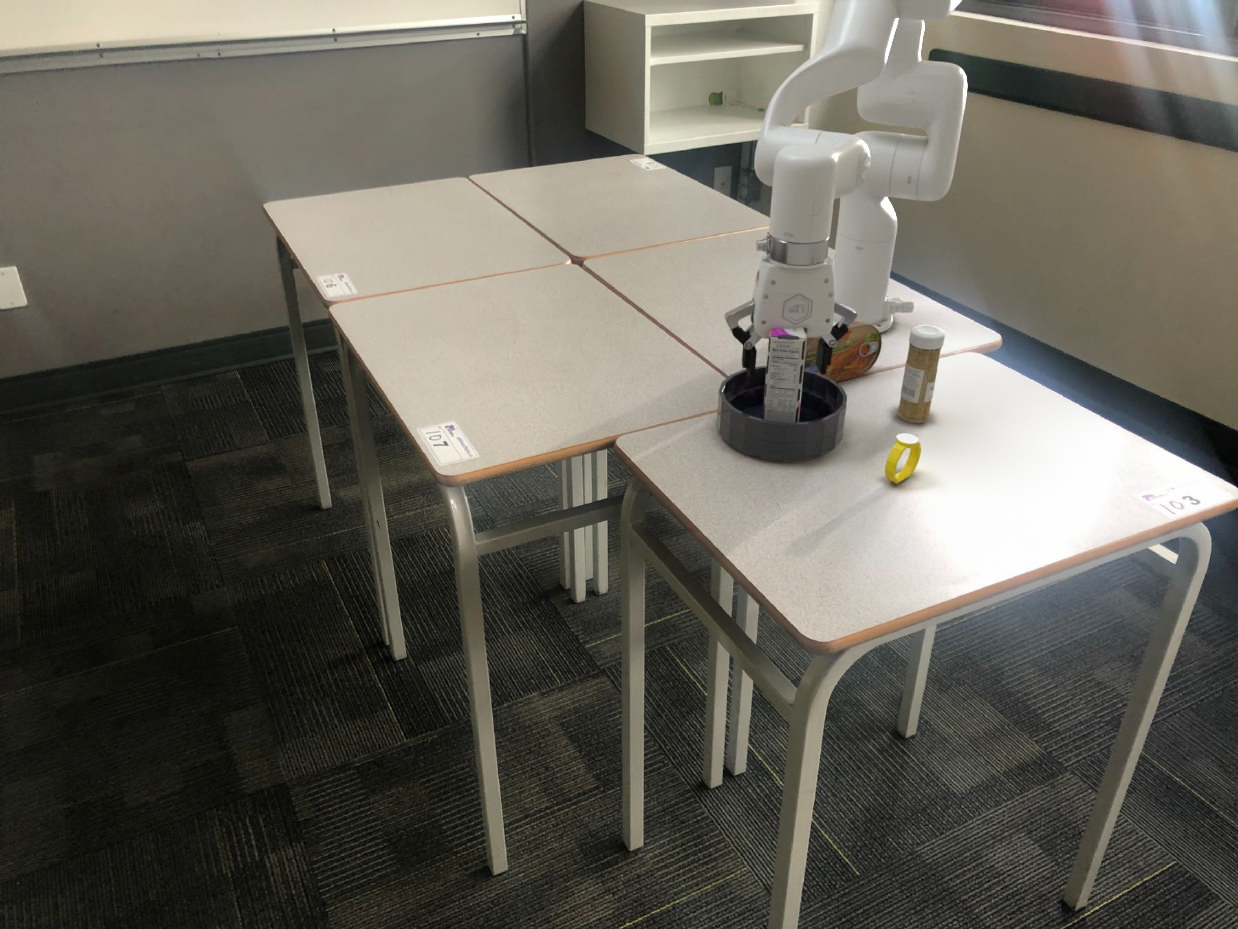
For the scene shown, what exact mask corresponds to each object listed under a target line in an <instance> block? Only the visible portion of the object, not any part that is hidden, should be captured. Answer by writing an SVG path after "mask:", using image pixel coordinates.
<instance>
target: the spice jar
mask: <svg viewBox="0 0 1238 929" xmlns="http://www.w3.org/2000/svg"><path fill="white" fill-rule="evenodd" d="M945 337H946V332H945V330H944V329H942V328H941V327H938V326H935V325H931V324H918V325H915V326H913V327H912V328H911V329H910V332H909V336H908V345H909V347H908V351H907V357H906V361H905V365H904V372H903V378H902V383H901V389H900V400H899V404H898V405H899V406H898V409H897V412H896V415H897V416H898V418H899V419H900V420H902V421H905V422H906V423H910V424H922V423H926V422H928V421H929V419H930V416H931V414H930V411H931V404H932V400H933V397H934V392H935V384H936V379H937V376H938V366H939V362H940V355H941V351H942V348H943V347H944V343H945V339H946V338H945Z"/></svg>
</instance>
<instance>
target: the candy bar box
mask: <svg viewBox="0 0 1238 929" xmlns="http://www.w3.org/2000/svg"><path fill="white" fill-rule="evenodd" d="M806 343H807V328H777V329H770V333H769V339H768V346H767V357H766V366H767V368H766V381H765V393H764V407H763V419H764V420H767V421H776V422H784V423H794V422H799V412H800V403H801V393H802V383H803V374H804V363H805V353H806Z"/></svg>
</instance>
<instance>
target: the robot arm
mask: <svg viewBox="0 0 1238 929" xmlns="http://www.w3.org/2000/svg"><path fill="white" fill-rule="evenodd" d="M962 1H963V0H834V4H833V7H832V11H831V14H830V18H829V21H828V24H827V28H826V31H825V34H824V38H823V41H822V45H821V48H820V50H819V51H818V52H817V53H816V54H814V55H813V56H812V57H810V58H809V59H807V60H806V61H805V62H803V63H802V64H800V65H799V66H798V67H797V68H796V69H795V70H794V71H792V72H791V74H790V75H789V76H788V77H787V78H786V79H785V80H784V81H783V82H782V83H781V84H780V86H779V87H778V88H777V89H776V91H775V92H774V94H773V95H772V97H771V99H770V102H769V103H768V106H767V109H766V111H765V114H764V118H763V121H762V125H761V128H760V132H759V135H758V138H757V141H756V147H755V151H754V159H753V160H754V161H753V164H754V172H755V175H756V177H757V178H758V180H759V181H760V182H762V183H763V184H764V185H766V186H768V187H772V188H771V202H770V212H769V222H768V224H769V225H768V231H767V232H766V236H765V238H762V239H757V240H756V242H755V249H756V251H757V252H759V251H761V252H763V253H764V254H762V256H761V259H760V261H759V265H758V268H757V271H756V277H755V282H754V287H753V291H752V298H751V299H750V300H749V301H746V302H745V303H742V304H741V305H738V306H737V307H734V308H732V309H731V310H728V311H726V312H725V313H724V316H723V317H724V320H725V322H726V324H727V326H728V328H729V330H730V332H731V334H732V336H733V337H734V338H735V339H736V340H737V341H738V342H739V343H740V344H741V345H742V351H741V352H742V353H741V367H742V369H746V370H747V373H748V375H749V377H753V376H754V375H755V367H757V366H756V364H757V354H758V353H757V348H756V346H755V345H757V343H759V341H761V339H766V340H769V333H770V329H777V328H807V338H817V337H821V338H820V339H819V340H818V346H817V355H816V367H817V368H818V370H819V372H820V373H821V374H826V371H827V366H829V365H830V364H831V358H832V350H833V347H834V346H835V345H836V344H837V341H838V340H839V339H841V338H842V337H843V336H844V335H845V334H846V333H847V332H848V330H849V327H851V325H852V324H853V322H854V321H860V322H864V323H866V324H869V325H872V326H874V327H875V328H877V329H878V331H879V333H880V334H881V333H884V332H886V331H888V330H889V329H890V328H891V327H892V325H893V320H894V319H893V315H895V314H896V313H900V314H911V313H913V312H914V309H915V306H914V301H912V300H911V301H910V300H909V301H908V300H907V301H903V300H902V297H889V296H888V292H889V291H888V289H889V285H890V284H889V283H890V278H891V270H892V265H893V259H894V252H895V246H896V239H897V233H898V217H897V215H896V212H895V209H894V207H893V205H892V203H891V201H890V200H889V198H896V199H903V200H910V201H918V202H919V201H920V202H937V201H939V200H941V199H943V198H945V196H946V195H947V194H948V192H949V190H950V188H951V184H952V181H953V178H954V173H955V168H956V162H957V157H958V150H959V146H960V137H961V134H962V133H961V132H962V126H963V120H964V114H965V109H966V102H967V94H968V92H967V91H968V81H967V75H966V73H965V71H964V69H963V68H962V67H961V66H959V65H958V64H955V63H953V62H947V61H937V60H936V61H935V60H925V59H922V56H921V51H922V45H923V37H924V32H925V21H929V22H931V21H932V22H937V21H941V20H945V19H946V18H947V17H949V16H950V15H951V14H952V12H953V11H955V9H956V8H957V7H958V6H959V5H960V3H961V2H962ZM856 88H857V92H856V109H857V113H858V115H859V116H860V118H861V119H862V120H864V121H867V122H869V123H873V124H878V125H885V126H893V127H903V128H911V129H912V128H913V129H922V130H923V131H924V132H926V135H927V136H924V135H915V134H905V133H901V132H891V131H880V130H866V131H865V130H864V131H859V132H856V133H854V134H851V133H846V132H845V133H844V132H837V131H826V130H822V129H812V128H804V127H792V124H793V123H794V121H795V119H796V118H797V117H798V116H799V115H800V114H801V113H802V112H803V111H804V110H805V109H807V108H809V107H810V106H811V105H814V104H815V103H817V102H819V101H822V100H824V99H827V98H829V97H833V96H836V95H839V94H841V93H845V92H847V91H850V90H853V89H856ZM837 199H839V209H838V210H839V211H838V220H837V228H836V237H835V244H834V252H833V258H831V257H830V256H829V255H828V253H829V246H830V236H831V230H832V222H833V221H832V219H833V212H834V203H835V202H834V201H835V200H837ZM749 316H750V322H751V324H750V325H749V326H748V327H747V328H746V329H745V330H744V329H743V328H742V327H741V326H740V325H739V321H740V320H742V319H745V318H747V317H749Z"/></svg>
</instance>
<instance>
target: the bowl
mask: <svg viewBox="0 0 1238 929" xmlns="http://www.w3.org/2000/svg"><path fill="white" fill-rule="evenodd" d="M766 368H767V365H760V366H756V367H755V375H754V376H753V377H749V375H748V373H747V370H746V368H743V369H741V370H739V371H736V372H733V373H732V374H729V375H728V376H727V377H726V378H725V379H724V380H722V381H721V383H720V386H719V389H718V395H717V396H718V397H717V410H716V411H717V413H716V428H717V431H718V434H719V436H720V437H721V438H722V439H723V440H724V441H725V442H726V443H727V444H728V445H729V446H731V447H733V448H735V449H737V450H739V451H740V452H742V453H745V454H747V455H749V456H753V457H757V458H761V459H764V460H771V461H781V462H796V461H803V460H804V461H805V460H808V459H813V458H816V457H817V458H818V457H822V456H823V455H825V454H827V453H829V452H832V451H833V450H835V449H836V447H837V446H838V445H839V444H840V443H841V442H842V440H843V435H844V434H843V433H844V426H845V420H846V414H847V413H846V412H847V407H848V395H847V393H846V391H845V389H844V388H843V387H842V386H841V385H840V384H839V383H838V382H835V381H834V380H832V379H830V378H828V377H826V376H824V375H821V374H819V373H817V372H813V371H809V370H805V369H804V374H803V383H802V393H801V403H800V412H799V422H794V423H784V422H776V421H767V420H764V419H763V407H764V393H765V381H766Z"/></svg>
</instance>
